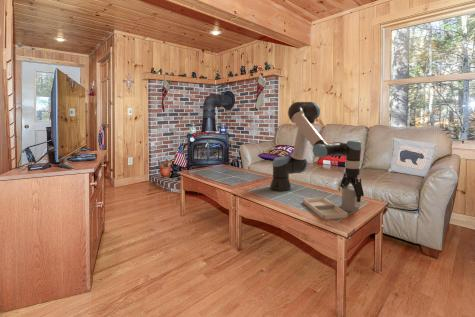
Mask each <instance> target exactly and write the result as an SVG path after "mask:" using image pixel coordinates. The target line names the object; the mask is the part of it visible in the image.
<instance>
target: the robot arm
mask: <svg viewBox="0 0 475 317" xmlns="http://www.w3.org/2000/svg"><path fill="white" fill-rule="evenodd" d="M287 110H288V111H287V115H288V118H289V120H290V121H291V123H292V124H295V126H296V127H297V131H296V137H295V141H294V144H293V145H294V147H293V151H292V152H291V153H290V154H289V155H290V156H289V157H288V156H278V157H275V158H274V159H273V161H272V180H271V182H270V185H269V186H270V187H269V188H270V189H271V190H272V191H276V192H287V191H291V189H292V185H291V181H290V179H289V178H290V174H291V175H292V174H301V173H304V172H306V170H307V168H308V166H309V163H308V159H307V156H306V155H305V154H306V150H307V146H308V142H309V143H310V145H311V146H312V153H313V155H314V157H317V158H324V157H333V156H334V157H336V156H343V157H345V172H343V177H342V179H341V182H340V185H339V186H340V187H341V192H342V191H343V187H344V186H350V185H351V186H353V187H354V190H355V193H356V196H355V207H359V208H360V207H361V201H362V200H361V199H362V197H364V195H365V193H364V189H363V184H362V178H360V177H358V176H359V175H360V173H361V172H360V171H361V170H360V168H361V156H362V142H361V141H360V140H348V141H347V142H346V143H344V142H340V141H334V142H331V143H330V142H329V143H327V142H326V140H325V139H324V137H322V135H321V134H320V133H319V132H318V130H317V129H315V127H314V126H313V124H314V123H315V121H316V120H317V119H318V118H319V117H320V115H321V108H320V106H319V104H318V103H316V102H313V101H295V102H293V103H292V104H290V105H289V107H288V109H287Z"/></svg>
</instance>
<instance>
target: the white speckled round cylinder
mask: <svg viewBox="0 0 475 317" xmlns="http://www.w3.org/2000/svg"><path fill="white" fill-rule="evenodd" d="M355 196H356V193H355V190H354V187H353V185H348V186H344V187H343V191H342V190H341V207H340V208H341V209H343V210H344V211H346V212H359V209H360V207H355Z"/></svg>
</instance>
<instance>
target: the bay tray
mask: <svg viewBox="0 0 475 317" xmlns="http://www.w3.org/2000/svg"><path fill="white" fill-rule="evenodd" d="M302 203H303V204H304V205H305V206H306V207H308V208H309V209H310V210H311V211H313V213H315V214H316V215H318V216H319V218H321V219H322V220H335V219H348V218H349V213H348V211H346V210H344V209H342V208H341V207H339V205H337V204H335V203H334V202H332V201H330V200H328V199H327V198H325V197H313V198H303V199H302Z"/></svg>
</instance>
